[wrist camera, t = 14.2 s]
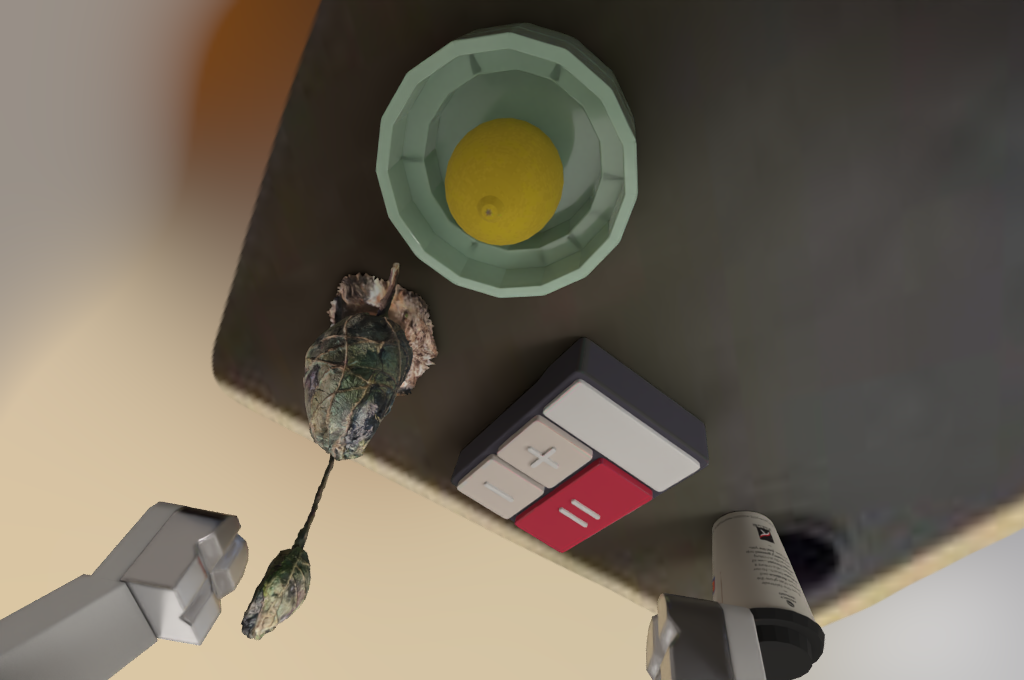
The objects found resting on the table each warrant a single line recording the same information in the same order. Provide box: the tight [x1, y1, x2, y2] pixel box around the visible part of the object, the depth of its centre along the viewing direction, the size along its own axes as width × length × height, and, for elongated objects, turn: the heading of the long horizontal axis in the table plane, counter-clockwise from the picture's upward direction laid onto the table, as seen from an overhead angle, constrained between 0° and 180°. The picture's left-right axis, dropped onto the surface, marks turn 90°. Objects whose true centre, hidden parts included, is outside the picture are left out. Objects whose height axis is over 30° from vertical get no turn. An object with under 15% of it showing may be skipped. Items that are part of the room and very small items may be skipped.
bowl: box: [376, 22, 638, 298], centre depth 28 cm, size 12×12×5 cm
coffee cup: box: [712, 511, 825, 680], centre depth 40 cm, size 7×7×10 cm
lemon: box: [445, 118, 564, 246], centre depth 27 cm, size 6×6×8 cm
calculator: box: [451, 338, 709, 553], centre depth 40 cm, size 11×4×15 cm
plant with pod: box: [241, 263, 438, 640], centre depth 30 cm, size 8×11×20 cm
